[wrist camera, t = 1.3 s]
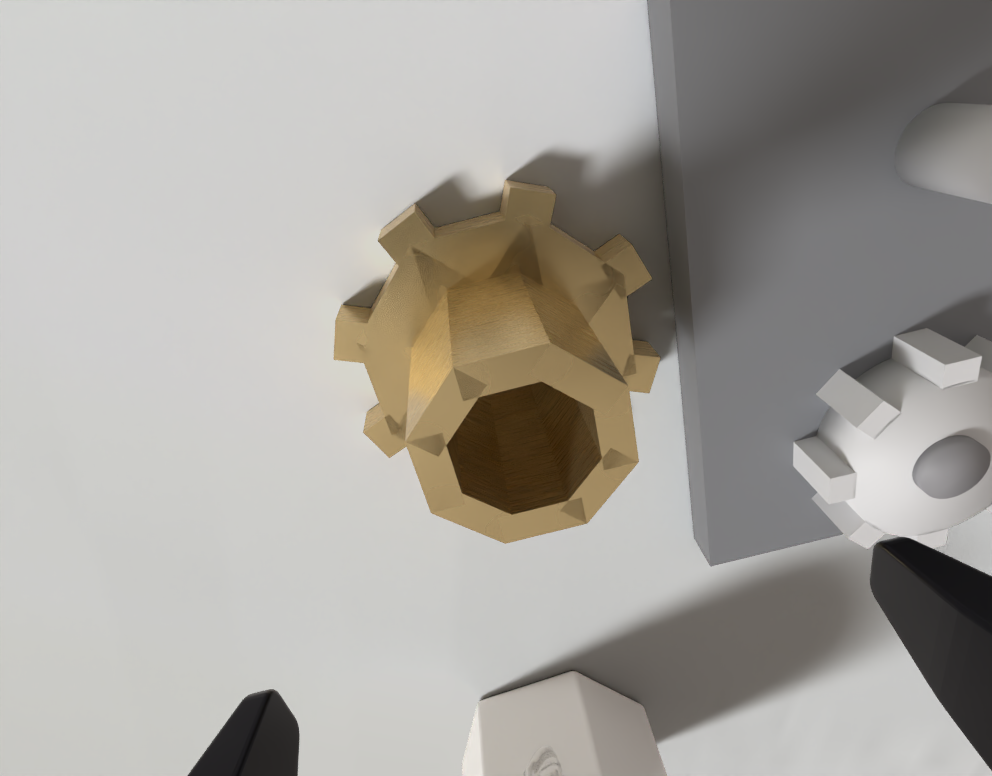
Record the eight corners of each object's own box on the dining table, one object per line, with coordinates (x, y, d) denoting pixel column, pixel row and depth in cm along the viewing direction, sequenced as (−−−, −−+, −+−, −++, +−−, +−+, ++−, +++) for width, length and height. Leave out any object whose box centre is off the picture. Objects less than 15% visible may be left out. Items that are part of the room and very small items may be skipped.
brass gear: (625, 148, 16) (723, 185, 10) (657, 428, 20) (738, 553, 15) (296, 233, 16) (230, 311, 11) (398, 492, 20) (387, 638, 15)
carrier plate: (1185, -153, 14) (1591, -276, 9) (1027, 456, 22) (1192, 561, 18) (646, -11, 14) (759, -56, 9) (693, 537, 23) (765, 662, 18)
